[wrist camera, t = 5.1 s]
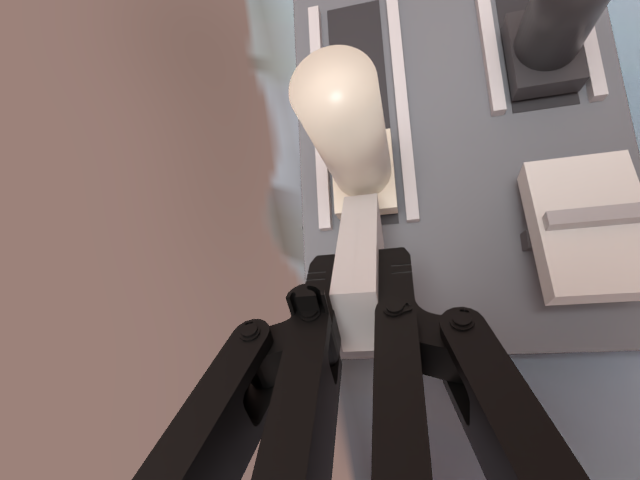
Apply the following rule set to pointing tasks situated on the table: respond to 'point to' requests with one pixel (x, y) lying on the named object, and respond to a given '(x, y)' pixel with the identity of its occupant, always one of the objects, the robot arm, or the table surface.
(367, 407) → the table surface
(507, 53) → the black lever
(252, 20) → the table surface
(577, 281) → the rocker
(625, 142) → the panel
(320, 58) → the cream tapered knob
